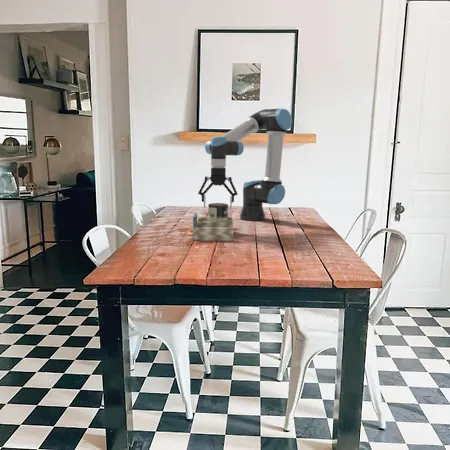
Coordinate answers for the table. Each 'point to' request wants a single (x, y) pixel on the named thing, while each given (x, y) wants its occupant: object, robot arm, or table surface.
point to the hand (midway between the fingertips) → (217, 208)
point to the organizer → (212, 229)
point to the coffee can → (218, 212)
